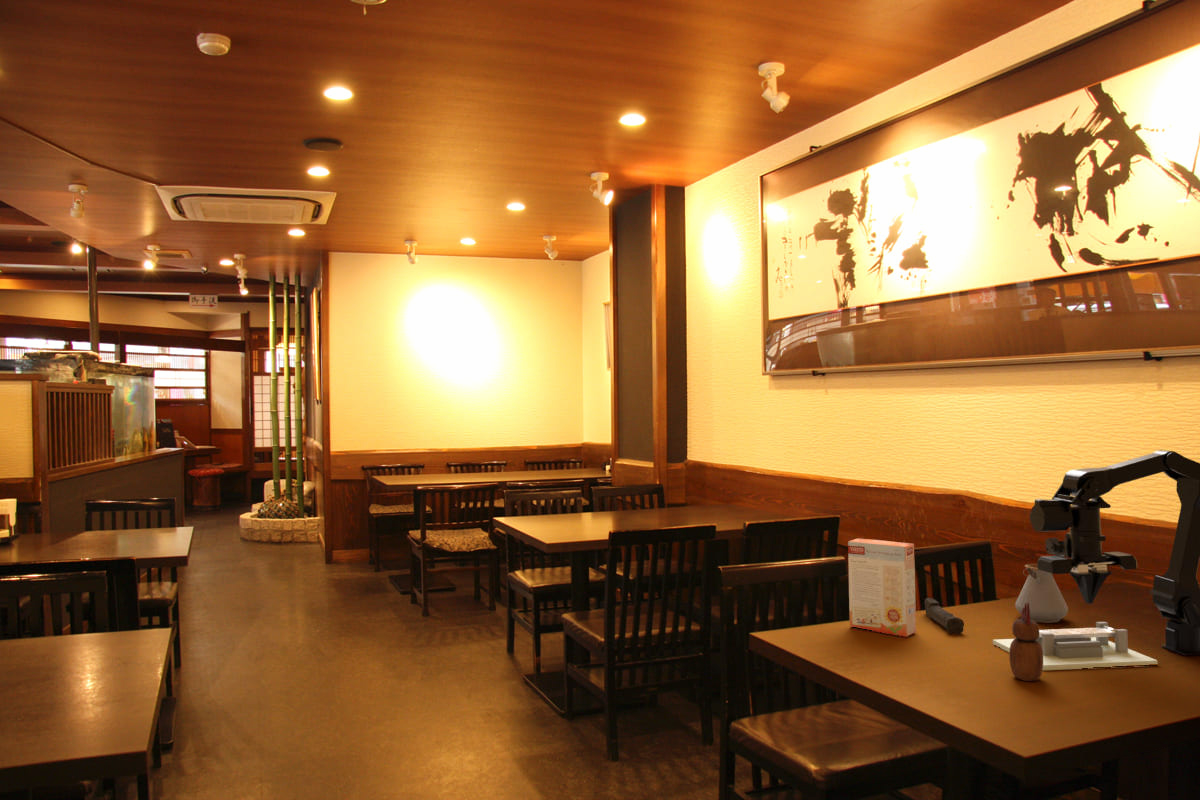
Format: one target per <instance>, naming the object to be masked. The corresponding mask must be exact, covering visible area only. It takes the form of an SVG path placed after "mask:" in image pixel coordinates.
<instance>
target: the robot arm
mask: <svg viewBox="0 0 1200 800" xmlns="http://www.w3.org/2000/svg"><path fill="white" fill-rule="evenodd" d="M1159 473H1160V474H1161V473H1164V474H1165V475H1166V476H1167V477H1168V478H1170V479H1172V480H1174V481H1175V482H1176V494H1177V496H1178V499H1179V502H1180V511H1179V516H1178V521H1177V526H1176V530H1175V534H1174V539H1173V540H1174V541H1173V543H1172V549H1171V554H1170V560H1169V565H1168V569H1167V571H1166V572H1165V573H1164V574H1163V575H1161V576H1159V575H1155V576H1154V578H1153V585H1152V589H1151V590H1150V592H1149V593H1150V595H1152V603H1154V604H1155V606H1156V608H1157V609H1158V610H1159V613H1160V616H1161V617H1162V618H1165V619H1167V620H1166V627H1165V644H1163V643H1162V644H1161V648H1164V649H1166V648H1167V650H1170V651H1172V652H1175V653H1177V654H1180V655H1183V656H1200V583H1199V582H1198V581H1199V580H1198V579H1197V575H1198V574H1197V573H1198V570H1199V564H1200V462H1198V461H1195V460H1193V459H1190V458H1188V457H1185V456H1183V455H1182V454H1180V453H1178V452H1177V451H1173V450H1164V449H1163V450H1162V449H1161V450H1155V451H1154V452H1152V453H1149V454H1145V455H1143V456H1142V455H1141V456H1139V457H1135V458H1131V459H1128V460H1125V461H1122V462H1118V463H1115V464H1110V465H1107V466H1103V467H1102V466H1101V467H1087V468H1077V469H1071V470H1069V471H1067V472H1065V473H1064V476H1063V479H1062V482H1061V484H1060V485H1059V488H1058V489H1057V490H1056V492H1055V493H1054V494H1053V496H1052V498H1051V499H1041V498H1038V499H1034V505H1033V506H1032V507H1031V509H1030V513H1029V522H1030V524H1031V525H1030V526H1031V527H1032V529H1033V530H1034V531H1035V532H1037V533H1039V532H1040V533H1041V532H1044V533H1045V532H1065V531H1068V530H1069V532H1066V533H1065V536H1064V537H1065V538H1064V540H1059V539H1058V538H1057V537H1049V538H1045V550H1046V553H1047V554H1050V555H1046V556H1045V555H1042V556H1039V558H1038V560H1037V563H1036V564H1038V569H1039V570H1042V571H1045V572H1049V573H1052V574H1053V575H1063V574H1064V575H1065V574H1069V575H1070V576H1071V577H1072V578H1073V580H1074V581H1075V583H1076V584H1077V585H1076V586H1077V587H1078V589H1079V591H1080V595H1081V596H1082V598H1083V600H1084V603H1085V604H1087V605H1092V604H1093V603H1094V602H1095V599H1096V597H1097V595H1098V592H1099V591H1100V589H1101V587H1102V586H1103V584H1104V583H1105V582H1106V580H1107V578H1108V576H1110V575H1111V576H1112V574H1113V572H1112V571H1110V570H1108V567H1110V566H1119V567H1120V568H1121V569H1122V570H1125V571H1126V570H1129V571H1130V570H1137V569H1138V560H1137V559H1136V557H1135V556H1134V555H1133V554H1130V553H1125V552H1121V551H1109V552H1103V548H1102V545H1103V544H1102V542H1105V541H1106V535H1102V525H1101V509H1111V504H1109V503H1108V502H1106V501H1105V500H1104V499H1103V497H1102V496H1103V495H1106V494H1108V493H1110V492H1111V491H1113V489H1114V488H1115V487H1118V486H1119V485H1123V484H1126V483H1129V482H1132V481H1136V480H1139V479H1143V478H1147V477H1150V476H1153V475H1157V474H1159ZM1052 554H1054V555H1052Z"/></svg>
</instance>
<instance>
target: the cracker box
mask: <svg viewBox="0 0 1200 800" xmlns="http://www.w3.org/2000/svg"><path fill="white" fill-rule="evenodd" d="M847 546H848V547H847V549H848V552H847V553H848V555H847V556H848V558H847V560H848V599H849V601H848V604H849V605H848V606H849V609H848V610H849V628H851V627H859V628H863V629H868V630H867V631H869V630H872V631H871V632H875V631H876V633H880V632H881V634H887V635H891V634H892V635H893V636H897V635H898V637H902V636H903V638H907V637H909V636H911V635H913V634H915V633H916V632H917V618H916V615H917V614H916V612H917V611H916V610H917V608H916V572H915V571H916V570H915V569H916V567H915V565H916V564H915V543H911V542H910V543H909V542H899V541H898V542H897V541H890V540H881V539H867V538H854V539H851V540H849V541H848V542H847ZM863 629H862V630H863Z"/></svg>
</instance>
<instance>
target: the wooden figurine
mask: <svg viewBox="0 0 1200 800" xmlns="http://www.w3.org/2000/svg"><path fill="white" fill-rule="evenodd" d="M1011 630H1012V635H1013V636H1014V638H1013V639H1014V640H1013V641H1012V642H1011V645H1010V652H1008V653H1009V654H1008V656H1009V658H1008V659H1009V666H1010V669H1011V672H1012V675H1013V676H1014V677H1015V678H1017V679H1018V680H1021V681H1024V682H1025V681H1026V682H1034V681H1035V682H1036V681H1037V680H1039V679H1040V678H1041V676H1042V673H1043V670H1042V669H1043V650H1042V647H1041V645H1040V643H1039V642H1038V641H1037V640H1036V639H1037V638H1038V637H1039V630H1040V628H1039V625H1038V622H1036V621H1032V620H1030V609H1029V603H1027V605H1026V603H1025V607H1024V608H1023V611H1021V614H1020V618H1017V619H1015V620H1013V622H1012V628H1011Z"/></svg>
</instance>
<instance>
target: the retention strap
mask: <svg viewBox="0 0 1200 800" xmlns="http://www.w3.org/2000/svg"><path fill="white" fill-rule="evenodd" d="M1115 629H1116V628H1113V627H1110V626H1109V625H1108V626H1103V627H1102V628H1096V627H1082V628H1081V627H1078V628H1059V629H1058V628H1056V629H1053V628H1052V629H1039V637H1041V638H1042V633H1052V634H1054V639H1065V638H1090V637H1108V638H1109V637H1110V638H1111V637H1114V638H1115Z"/></svg>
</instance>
